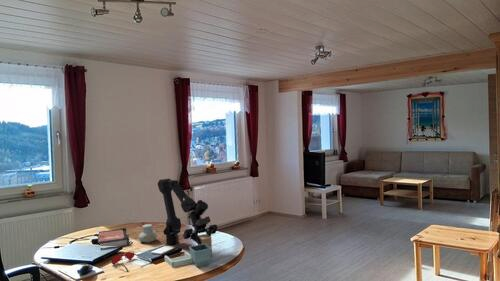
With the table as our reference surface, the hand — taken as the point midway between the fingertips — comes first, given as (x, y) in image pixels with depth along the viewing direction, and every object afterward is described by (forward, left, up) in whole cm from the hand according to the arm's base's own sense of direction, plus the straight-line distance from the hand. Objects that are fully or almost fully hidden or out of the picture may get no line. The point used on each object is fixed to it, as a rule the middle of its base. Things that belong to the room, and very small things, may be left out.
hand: (205, 245), depth 202 cm
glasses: (-34, -18, -7) cm, 39 cm away
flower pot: (+2, -11, -7) cm, 13 cm away
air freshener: (-48, +20, -7) cm, 52 cm away
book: (-70, +15, -7) cm, 72 cm away
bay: (-12, -8, -7) cm, 16 cm away
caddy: (-1, +1, -7) cm, 7 cm away
